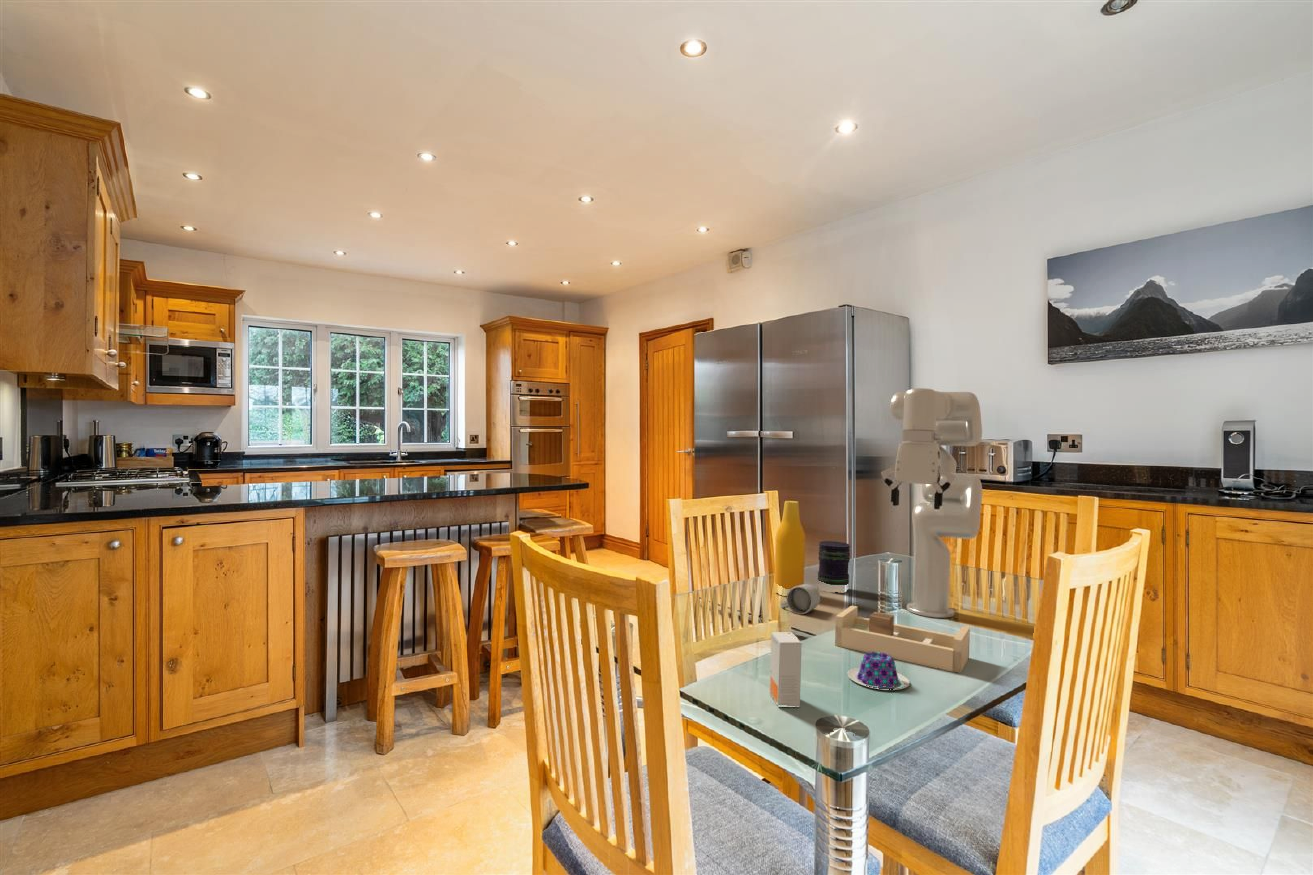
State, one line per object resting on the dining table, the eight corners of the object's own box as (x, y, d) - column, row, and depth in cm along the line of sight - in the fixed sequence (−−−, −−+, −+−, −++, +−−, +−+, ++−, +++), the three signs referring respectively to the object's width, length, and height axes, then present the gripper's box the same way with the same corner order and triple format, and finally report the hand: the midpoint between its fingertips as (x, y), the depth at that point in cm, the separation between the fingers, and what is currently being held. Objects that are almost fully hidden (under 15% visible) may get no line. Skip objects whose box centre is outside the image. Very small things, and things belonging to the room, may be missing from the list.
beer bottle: (802, 598, 189) (805, 503, 189) (771, 595, 192) (774, 501, 192) (805, 591, 198) (808, 501, 197) (775, 588, 201) (778, 499, 200)
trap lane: (850, 632, 157) (851, 605, 156) (968, 657, 141) (970, 627, 141) (834, 645, 147) (835, 615, 147) (960, 673, 131) (961, 640, 131)
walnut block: (874, 630, 150) (874, 611, 150) (893, 634, 147) (894, 615, 147) (868, 634, 146) (869, 615, 146) (888, 638, 143) (889, 619, 143)
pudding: (905, 698, 118) (906, 671, 118) (841, 684, 124) (842, 658, 124) (913, 678, 129) (914, 653, 129) (853, 666, 134) (854, 642, 134)
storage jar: (818, 592, 198) (820, 545, 198) (815, 584, 207) (817, 540, 207) (850, 594, 196) (852, 547, 196) (846, 587, 206) (848, 542, 206)
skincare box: (768, 694, 117) (770, 631, 117) (790, 694, 118) (792, 631, 118) (777, 708, 111) (779, 642, 111) (800, 708, 112) (802, 642, 112)
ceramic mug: (821, 610, 177) (821, 583, 177) (811, 616, 170) (812, 588, 170) (786, 604, 183) (786, 578, 183) (775, 610, 176) (775, 583, 176)
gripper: (959, 440, 152) (956, 509, 151) (887, 438, 162) (884, 503, 161) (954, 438, 146) (951, 511, 145) (878, 436, 156) (876, 504, 155)
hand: (915, 507), depth 153 cm, fingers open, 9 cm apart
